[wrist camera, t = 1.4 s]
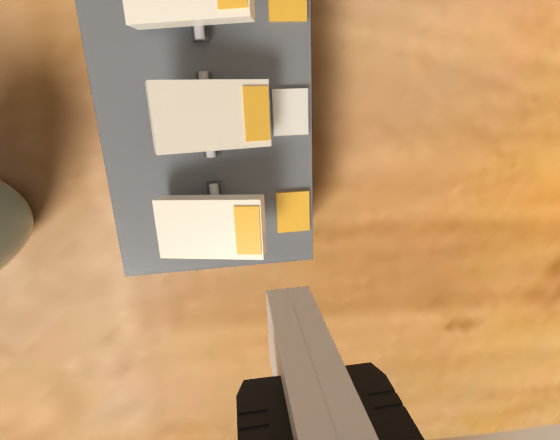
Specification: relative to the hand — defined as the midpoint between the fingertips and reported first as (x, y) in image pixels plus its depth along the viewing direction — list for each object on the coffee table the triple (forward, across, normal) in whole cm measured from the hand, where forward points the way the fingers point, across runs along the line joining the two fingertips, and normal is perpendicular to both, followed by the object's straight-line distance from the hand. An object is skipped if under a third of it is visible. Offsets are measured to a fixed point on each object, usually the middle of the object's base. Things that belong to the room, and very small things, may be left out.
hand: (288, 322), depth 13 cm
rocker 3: (+13, -3, 0) cm, 13 cm away
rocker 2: (+13, -3, +7) cm, 15 cm away
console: (+20, -3, +7) cm, 21 cm away
